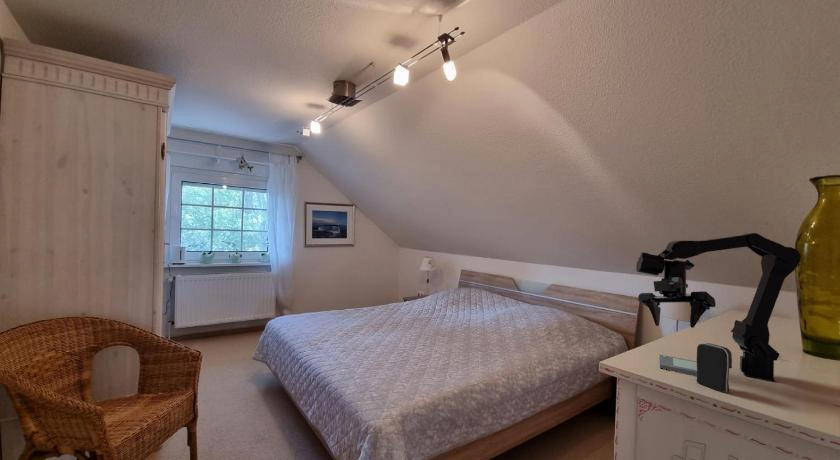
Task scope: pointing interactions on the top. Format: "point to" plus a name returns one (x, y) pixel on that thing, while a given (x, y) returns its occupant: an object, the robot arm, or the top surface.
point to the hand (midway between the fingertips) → (673, 326)
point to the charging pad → (678, 365)
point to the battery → (713, 366)
